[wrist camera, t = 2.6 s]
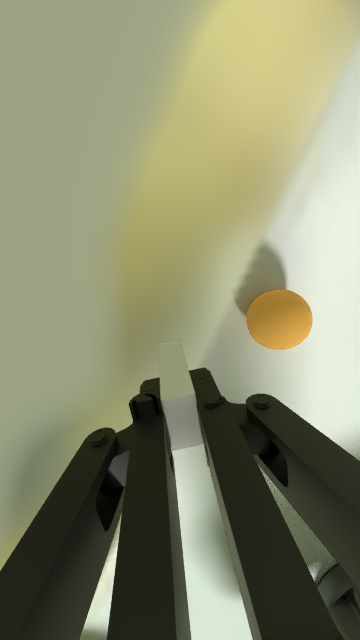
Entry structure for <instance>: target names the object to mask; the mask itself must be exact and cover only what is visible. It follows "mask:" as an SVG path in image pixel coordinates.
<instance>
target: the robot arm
mask: <svg viewBox="0 0 360 640" xmlns="http://www.w3.org/2000/svg"><path fill="white" fill-rule="evenodd" d="M158 352H159V373H160V378H155V379H150V380H146V381H144V382H143V383H142V385H141V386H140V394H138V395H137V396H135V397H133V398H132V399H131V400H130V403H129V407H130V411H131V414H132V418H133V424H131V425H130V426H129V427H127V428H126V429H124V430H122V431H119V432H117V433H115V430H113V429H112V428H101V429H98V430H96V431H94V432H93V433H91V434H90V435H89V436H88V437H87V438H86V439H85V440H84V442H83V443H82V445H81V447H80V448H79V450H78V451H77V453H76V454H75V456H74V457H73V459H72V460H71V462H70V464H69V465H68V467H67V468H66V470H65V472H64V473H63V474H62V476H61V478H60V479H59V481H58V482H57V484H56V485H55V487H54V488H53V490H52V492H51V493H50V495H49V496H48V498H47V499H46V501H45V503H44V504H43V505H42V507H41V509H40V510H39V512H38V513H37V515H36V516H35V518H34V519H33V521H32V523H31V524H30V526H29V527H28V529H27V531H26V532H25V533H24V535H23V537H22V538H21V540H20V541H19V543H18V544H17V546H16V548H15V549H14V551H13V552H12V554H11V555H10V557H9V558H8V560H7V562H6V563H5V565H4V566H3V568H2V570H1V571H0V640H79V639H80V636H81V633H82V630H83V627H84V624H85V621H86V618H87V615H88V612H89V609H90V606H91V603H92V600H93V597H94V594H95V591H96V588H97V585H98V582H99V579H100V576H101V573H102V570H103V567H104V564H105V561H106V558H107V555H108V552H109V549H110V546H111V543H112V540H113V537H114V534H115V531H116V528H117V525H118V522H119V519H120V516H121V513H122V517H121V526H120V534H119V542H118V551H117V559H116V568H115V576H114V584H113V593H112V601H111V610H110V618H109V626H108V635H107V640H191V632H190V622H189V611H188V601H187V591H186V581H185V571H184V560H183V550H182V540H181V530H180V520H179V510H178V499H177V489H176V479H175V469H174V460H173V455H172V451H173V450H178V449H182V448H187V447H191V446H196V445H200V444H204V447H205V452H206V458H207V464H208V466H209V468H210V472H211V476H212V480H213V484H214V488H215V492H216V496H217V500H218V504H219V508H220V512H221V516H222V520H223V524H224V528H225V532H226V536H227V540H228V544H229V548H230V551H231V555H232V559H233V563H234V567H235V571H236V575H237V579H238V583H239V587H240V591H241V595H242V599H243V603H244V607H245V611H246V615H247V619H248V623H249V627H250V631H251V635H252V638H253V640H360V461H359V460H357V459H356V458H355V457H353V456H352V455H351V454H349V453H348V452H347V451H345V450H344V449H343V448H341V447H340V446H339V445H337V444H336V443H335V442H333V441H332V440H331V439H329V438H328V437H327V436H325V435H324V434H323V433H321V432H320V431H319V430H317V429H316V428H315V427H313V426H312V425H311V424H309V423H308V422H307V421H305V420H304V419H303V418H301V417H300V416H299V415H297V414H296V413H295V412H293V411H292V410H291V409H289V408H288V407H287V406H285V405H284V404H283V403H281V402H280V401H278V400H277V399H276V398H274V397H272V396H271V395H267V394H255V395H252V396H250V397H248V399H247V400H246V404H235V403H230V402H228V401H227V400H226V399H225V398H224V397H223V396H221V394H220V392H219V390H218V388H217V386H216V384H215V381H214V379H213V377H212V375H211V373H210V371H209V370H207V369H206V368H200V369H195V370H190V371H188V367H187V364H186V360H185V357H184V353H183V350H182V347H181V343H180V340H174V341H169V342H164V343H159V344H158ZM171 448H172V450H171ZM258 465H259V466H260V467H261V468H262V470H263V471H264V472H265V473H266V475H267V476H268V477H269V478H270V480H271V481H272V482H273V483H274V484H275V486H276V487H277V488H278V489H279V491H280V492H281V493H282V494H283V496H284V497H285V498H286V499H287V500H288V502H289V503H290V504H291V505H292V507H293V508H294V509H295V510H296V511H297V513H298V514H299V515H300V516H301V518H302V519H303V520H304V521H305V523H306V524H307V525H308V526H309V527H310V529H311V530H312V531H313V532H314V534H315V535H316V536H317V537H318V539H319V540H320V541H321V542H322V543H323V545H324V546H325V547H326V548H327V550H328V551H329V552H330V553H331V554H332V556H333V557H334V558H335V559H336V561H337V562H338V563H339V565H337V566H336V567H334V568H333V569H332V570H331V571H329V572H328V573H327V574H326V575H325V576H324V578H323V579H322V580H321V582H320V583H319V585H318V587H317V586H316V584H315V582H314V580H313V578H312V576H311V574H310V572H309V570H308V567H307V565H306V563H305V561H304V559H303V557H302V555H301V553H300V551H299V549H298V547H297V545H296V543H295V541H294V538H293V536H292V534H291V532H290V530H289V528H288V526H287V524H286V522H285V520H284V518H283V516H282V514H281V512H280V510H279V507H278V505H277V503H276V501H275V499H274V497H273V495H272V493H271V491H270V489H269V487H268V485H267V483H266V481H265V479H264V476H263V474H262V472H261V470H260V468H259V466H258Z"/></svg>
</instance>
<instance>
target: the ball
mask: <svg viewBox="0 0 360 640" xmlns="http://www.w3.org/2000/svg"><path fill="white" fill-rule="evenodd" d="M311 326H312V313H311V310H310V307H309V305H308V304H307V302H306V301H305V300H304V299H303V298H302V297H301V296H299V295H298V294H296V293H294V292H292V291H289V290H283V289H276V290H270V291H267V292H265V293H263V294H261V295H260V296H258V297H257V298H256V299H255V300H254V301H253V302H252V304H251V305H250V307H249V310H248V313H247V327H248V330H249V332H250V334H251V335H252V337H253V338H254V339H255V340H256V341H257V342H258V343H259V344H261V345H263V346H264V347H267V348H270V349H275V350H284V349H289V348H292V347H294V346H296V345H298V344H300V343H301V342H302V341H303V340H304V339H305V338H306V337H307V335H308V334H309V332H310V330H311Z"/></svg>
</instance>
